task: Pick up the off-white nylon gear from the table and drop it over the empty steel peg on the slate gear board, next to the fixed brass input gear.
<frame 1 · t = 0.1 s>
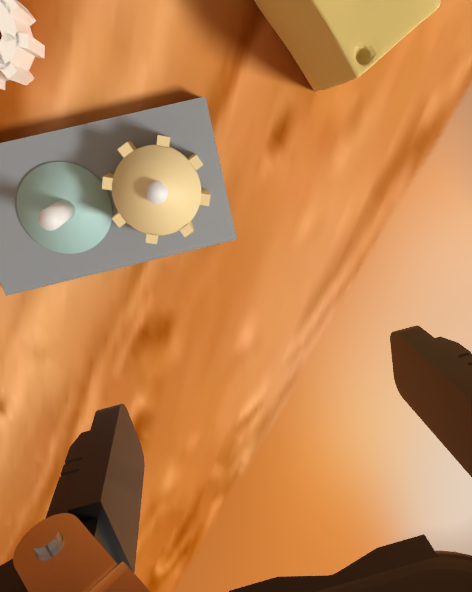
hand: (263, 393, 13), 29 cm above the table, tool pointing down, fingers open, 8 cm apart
cheese: (325, 2, 35), on the table
gear board: (104, 197, 38), on the table
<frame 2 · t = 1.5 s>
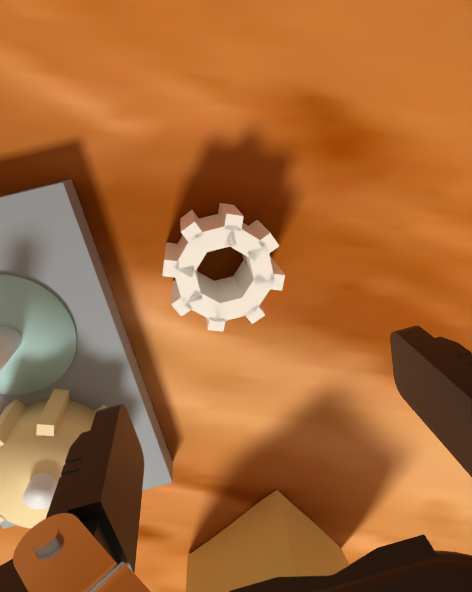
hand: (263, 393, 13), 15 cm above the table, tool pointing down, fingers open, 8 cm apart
nylon gear: (218, 256, 27), on the table
cheese: (266, 546, 37), on the table
gear board: (38, 363, 28), on the table
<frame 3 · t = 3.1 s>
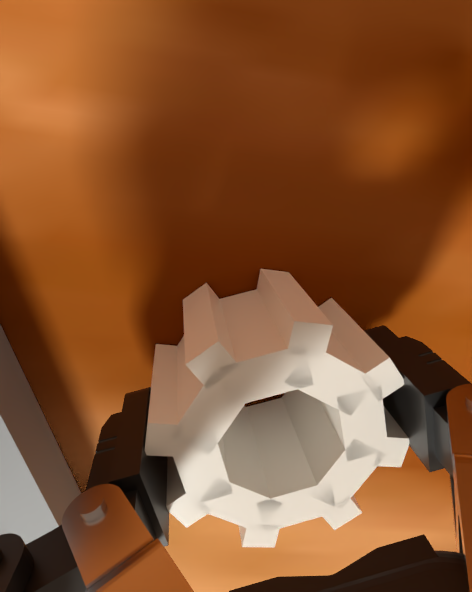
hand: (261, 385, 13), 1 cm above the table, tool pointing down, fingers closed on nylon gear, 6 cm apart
nylon gear: (255, 365, 14), on the table, touching gripper
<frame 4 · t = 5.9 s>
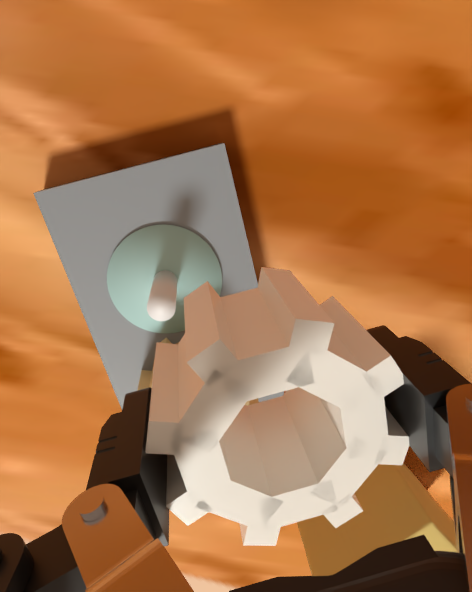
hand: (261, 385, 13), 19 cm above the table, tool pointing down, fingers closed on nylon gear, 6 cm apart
nylon gear: (256, 363, 14), point 17 cm above the table, touching gripper
cheese: (359, 487, 40), on the table
gear board: (178, 309, 32), on the table
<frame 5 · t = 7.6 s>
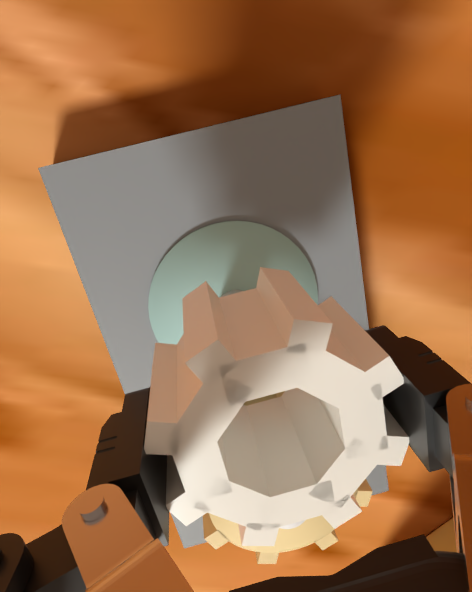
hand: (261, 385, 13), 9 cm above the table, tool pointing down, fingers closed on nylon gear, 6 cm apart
nylon gear: (254, 364, 14), point 7 cm above the table, touching gripper
cheese: (454, 564, 31), on the table
gear board: (242, 342, 22), on the table
when the fingers open (5 cm above the table, at t = 8.9 s): nylon gear drops 1 cm, resting on gear board.
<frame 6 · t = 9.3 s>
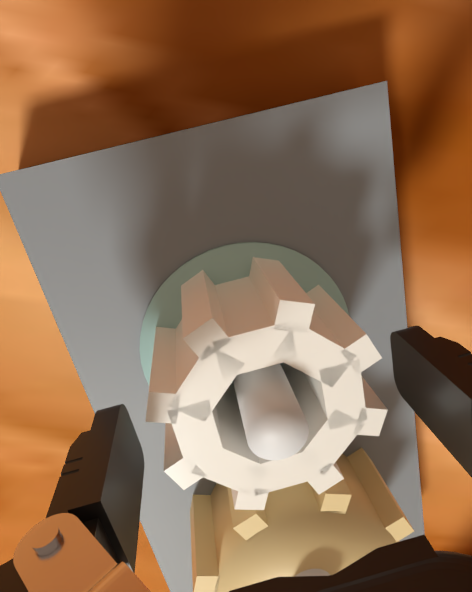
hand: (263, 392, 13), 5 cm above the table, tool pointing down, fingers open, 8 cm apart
nylon gear: (248, 347, 15), point 2 cm above the table, touching gear board
gear board: (254, 384, 18), on the table
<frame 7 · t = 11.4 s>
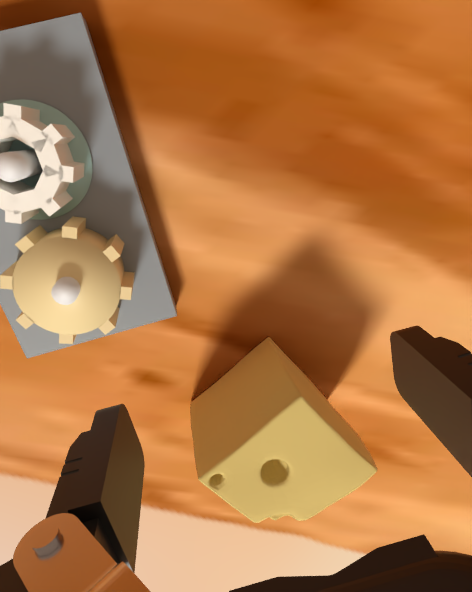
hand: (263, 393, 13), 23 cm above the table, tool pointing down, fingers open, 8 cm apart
nylon gear: (32, 162, 28), point 2 cm above the table, touching gear board
cheese: (260, 397, 41), on the table
gear board: (56, 202, 31), on the table
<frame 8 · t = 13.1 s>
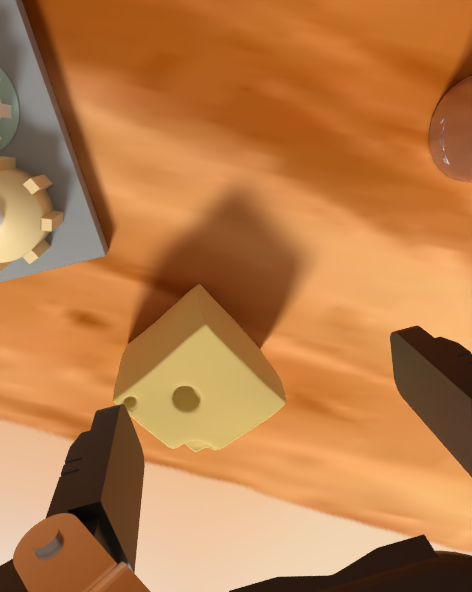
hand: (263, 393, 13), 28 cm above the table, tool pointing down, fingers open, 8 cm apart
cheese: (195, 344, 43), on the table
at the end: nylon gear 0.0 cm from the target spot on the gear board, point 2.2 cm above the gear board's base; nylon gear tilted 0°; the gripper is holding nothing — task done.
